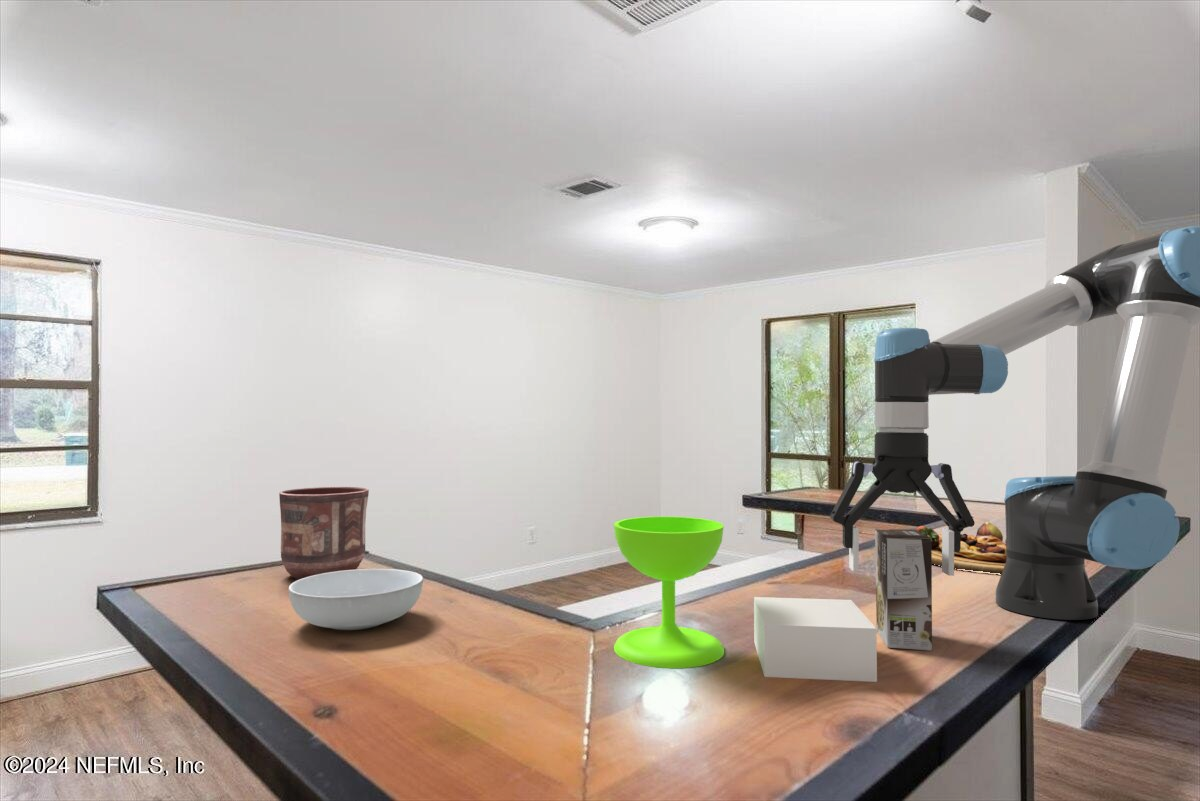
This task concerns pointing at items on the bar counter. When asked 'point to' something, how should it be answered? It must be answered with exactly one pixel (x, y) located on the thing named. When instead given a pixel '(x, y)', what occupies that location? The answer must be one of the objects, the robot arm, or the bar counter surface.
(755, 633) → the plinth block
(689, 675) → the bar counter surface
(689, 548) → the wineglass
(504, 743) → the bar counter surface
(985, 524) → the wooden plate with food
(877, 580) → the coffee box
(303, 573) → the pottery
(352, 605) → the serving bowl
